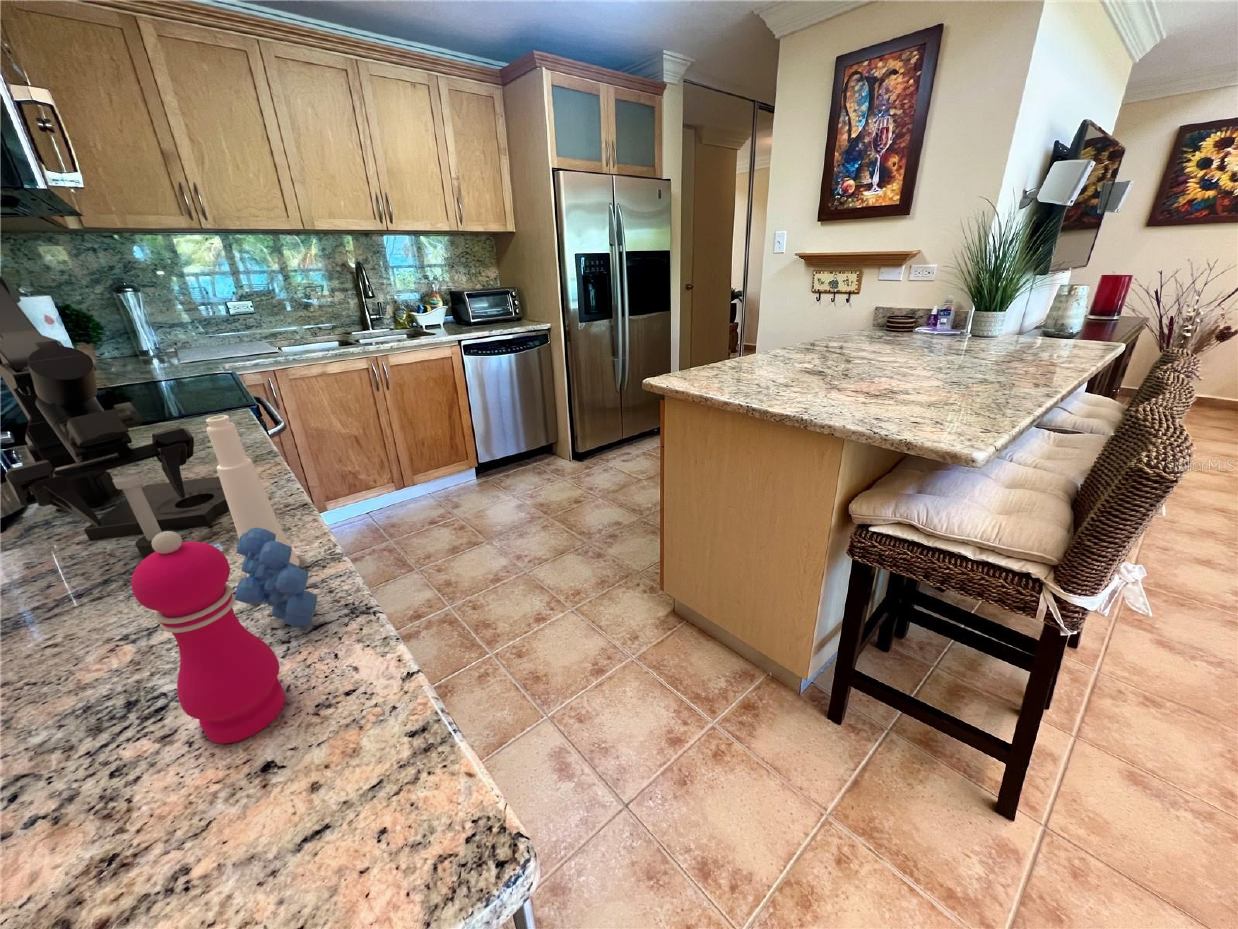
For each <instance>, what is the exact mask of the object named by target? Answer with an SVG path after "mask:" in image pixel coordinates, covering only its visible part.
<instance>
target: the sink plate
mask: <svg viewBox="0 0 1238 929" xmlns="http://www.w3.org/2000/svg"><path fill="white" fill-rule="evenodd" d="M182 482H183V487H184V492H185V498H183V499H182V498H181V497H180V496H179V495H178V494H177V493H176V492H175V490H174V488H173V487H172V485H171V483H170V482H169V481H167V482H158V483H149V484H148V483H147V484H145V485H144V486H142V487H141V489H142V491H143V493H144V495H145V497H146V499H147V501H148V503H149V506H150V508H151V510H152V512H153V514H154V516H155V518H156V520H157V523H158V525H159V527H160V529H161V530H173V531H175V530H180V529H188V528H195V527H197V528H198V527H204V526H210V524H212V522H213V521H215V519H216V518H217V517H219V516H221V515H222V514H224V513H226V512H228V511H230V509H229V506H228V503H227V500H226V497H225V494H224V491H223V488H222V485H221V482H220V478H219V476H212V477H211V476H210V477H202V478H195V479H186V480H182ZM98 518H99V520H100V521H101V524H102V526H100V527H97V526H95V525H93V524H91V523H90V524H89V525H88V526H86V527H85V528H84V529H83V531H84V533H85V535H86V537H87V538H88V540H89V541H97V540H104V539H112V538H118V537H125V536H126V537H127V536H134V535H141V534H144V533H143V531H142V529H141V527H140V525H139V522H138V520H137V518H136V516H135V514H134V512H133V510H132V508H131V506H130V504H129V502H128V500H127V498H126V499H124V500H122V501H121V502H119V504H117V505H116V506H114V507H113V508H111V509H110V510H109V511H107V512H106V513H104V514H103V515H101V516H100V517H98Z"/></svg>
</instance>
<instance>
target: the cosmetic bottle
mask: <svg viewBox="0 0 1238 929" xmlns="http://www.w3.org/2000/svg"><path fill="white" fill-rule="evenodd" d="M230 420H231V419H230V416H229V415H223V414H222V415H221V414H220V415H215V416H211V417H208V418H206V419H205V423H206V425H208V426H207V427H206V433H207V436H208V439H209V441H210V444H211V446H212V449H213V451H214V454H215V456H216V459H217V462H218V464H217V466H216V473H217V475H218V477H219V478H220V482H221V485H222V488H223V491H224V494H225V497H226V500H227V503H228V506H229V512H230V514H231V515H230V516H231V518H232V519H231V520H232V521H233V524H234V528H235V532H236V534H237V537H238V538H237V539H238V540H239V539H240V537H241V536H242V535H243V533H247V532H248V531H249V530H250V529H252V528H262V529H266V530H268V531H270V532H272V533H274V534H276V539H275V541H276V542H281V543H283V544H285V545H287V546H290V547H291V545H290V543H289V541H288V539H287V537H286V536H285V533H284V531H283V529H282V527H281V525H280V523H279V521H278V518H277V516H276V513H275V510H274V508H273V507H272V504H271V502H270V500H269V497H268V494H267V492H266V489H265V487H264V485H263V482H262V479H261V478H260V475H259V473H258V471H257V469H256V468H257V467H256V466H255V463H254V461H253V460H252V459H251V458H249V457H247V454H246V452H245V449H244V447H243V444H242V440H241V438H240V435H239V433H238V430H237V426H236V425H235V424H234V423H233V422H231V421H230ZM242 556H243V555H242ZM244 558H245V556H243V559H244ZM289 562H290V563H292V564H295V565H297V566H299V567H300V560H299V558H298V556H297V555H296V553H295V552H294V550H293V549H292V551H291V557H290V561H289ZM246 577H249V574H247V573H246Z"/></svg>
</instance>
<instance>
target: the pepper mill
mask: <svg viewBox="0 0 1238 929" xmlns="http://www.w3.org/2000/svg"><path fill="white" fill-rule="evenodd" d="M182 538H183V537H182V536H181V535H180V534H179V533H177V532H172V531H165V532H161V533H159V534H157V535H156V536H155V537H154V538H153V540H152V543H151V544H152V548H153V549H154V550H155V552H154V553H152V554H150V555H149V556H147V557H146V558H145V559H142V560H141V561H140V562H139V564H138V565H137V566H136V567H135V569H134V571H133V573H132V576H131V582H130V583H131V590H132V594H133V596H134V598H135V599H136V601H137V602H138V604H140V605H141V606H143V607H145V608H146V609H148V610H151V611H155V612H154V613H155V614H154V617H155V619H156V620H157V621H158V622H159V627H160V628H161V630H163V631H164V632H167V633H171V634H172V636H173V637H174V639H175V640H176V643H177V647H178V651H179V658H180V659H179V670H178V677H177V680H176V681H177V682H176V687H177V688H176V689H177V690H176V691H177V698H178V701H179V703H180V706H181V709H182V711H183V712H184V713H185V714H186V715H187V716H188V717H191V718H192V719H195V720H198V721H199V725H200V727H201V730H202V731H203V734H205V737H206V739H207V740H208V741H210V742H212V743H215V744H232V743H236V742H240V741H242V740H245V739H247V738H250V737H253V736H254V735H256V734H257V733H259V732H260V731H262V730H263V729H265V728H266V727H267V726H269V725H270V724H271V723H272V722H273V721H274V720H275V719H276V718H277V717H278V715H279V714H280V713H281V711H282V710H283V708H284V706H285V703H286V694H285V693H286V692H285V691H284V688H283V686H282V684H281V681H280V680H279V679H278V677H279V673H280V662H279V660H278V659H279V658H278V657H277V655H276V654H275V652H274V650H273V649H272V648H271V647H270V646H269V644H267V643H266V642H265V641H264V640H263V639H261V638H260V637H258V636H257V635H255V634H254V633H252V632H251V631H249V630H248V629H246V628H245V627H244V625H243V624H242V623H241V622H240V620H239V619H238V617H237V615H236V614H235V611H234V605H235V603H236V600H235V594H234V593H233V589H232V587H231V585H230V584H228V583H227V582H228V580H229V578H230V575H231V567H230V566H231V565H230V564H229V561H228V559H227V557H226V556H225V554H224V552H223V551H221V550H220V549H219V548H218V547H217V546H214V545H212V544H210V543H207V542H203V541H202V542H201V541H183V539H182Z"/></svg>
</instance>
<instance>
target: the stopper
mask: <svg viewBox="0 0 1238 929" xmlns="http://www.w3.org/2000/svg"><path fill="white" fill-rule="evenodd" d="M113 483H114V485H115V487H116V488H117V489H122V490H123V491H122V492H123V494H124V496H125V497H126V499H127V500H128V502H129V504H130V506H131V508H132V510H133V512H134V514H135V516H136V518H137V520H138V522H139V525H140V527H141V529H142V531H143V533H142V534H143V536H141V537H140V538H138V539H137V540H136V541H135V543H134V545H135V547H136V549H137V551H138V553H139V555H140V557H141V559H142V560H144V559H145V558H146V557H147V556H149V555H150V554H152V553H154V552H155V550H154V549H153V548H152V544H151V543H152V540H153V538H154V537H155V536H156V535H157V534H159V533H161V532H165V531H172V532H175V530H161V529H160V527H159V525H158V523H157V520H156V518H155V516H154V514H153V512H152V510H151V508H150V506H149V503H148V501H147V499H146V497H145V495H144V493H143V491H142V489H141V488H142V487H141V485H142V484H143V483H144V479H143V477H142V475H141V473H139V472H131V473H124V474H122V475H121V474H120V475H119V476H116V477H114V478H113ZM175 533H176V532H175Z"/></svg>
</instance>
